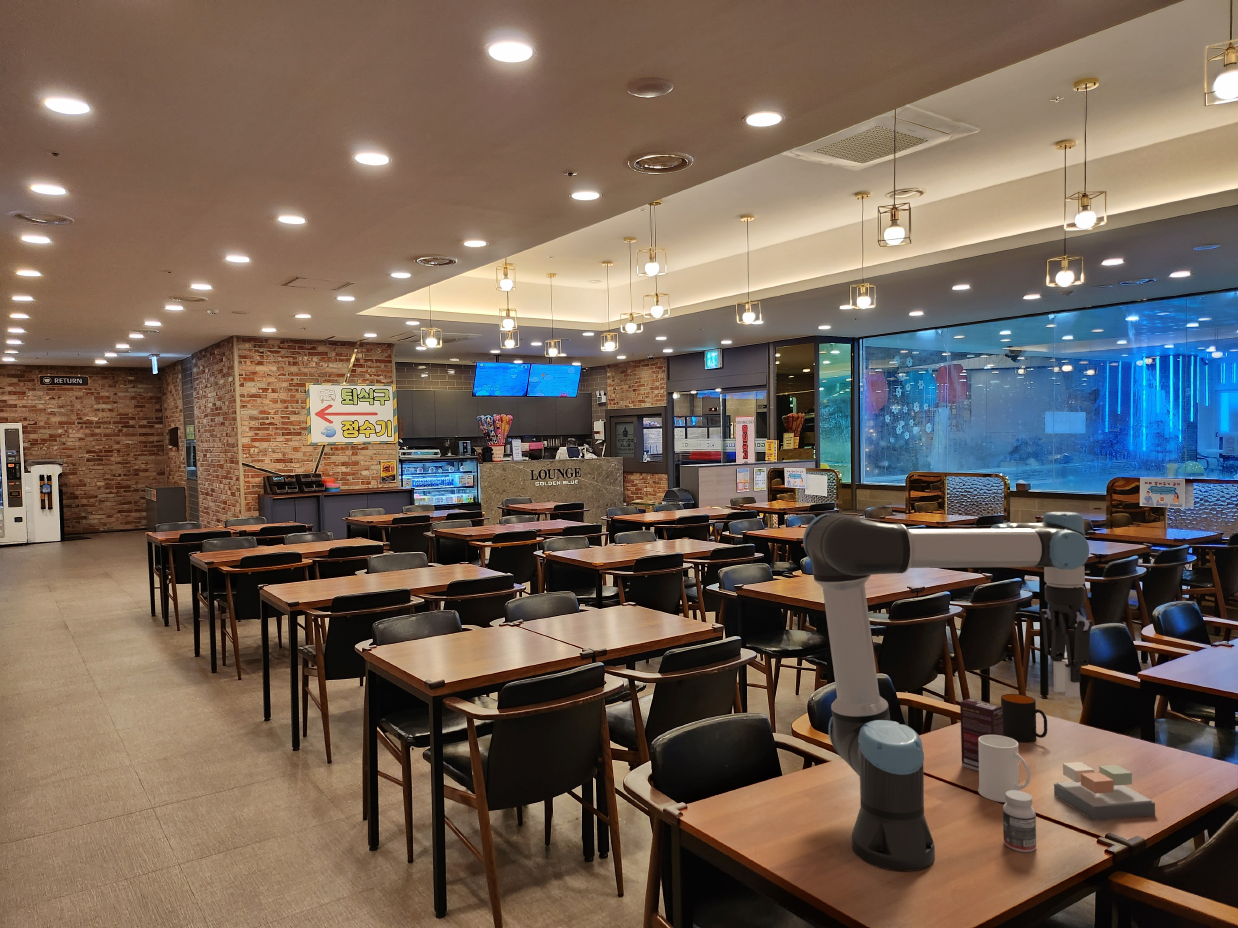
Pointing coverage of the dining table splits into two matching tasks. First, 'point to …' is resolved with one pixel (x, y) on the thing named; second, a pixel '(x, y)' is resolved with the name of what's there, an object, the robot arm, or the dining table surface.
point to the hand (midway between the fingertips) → (1066, 693)
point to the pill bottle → (1019, 821)
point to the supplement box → (977, 728)
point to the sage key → (1117, 774)
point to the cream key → (1076, 770)
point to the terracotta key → (1097, 782)
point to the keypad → (1104, 801)
